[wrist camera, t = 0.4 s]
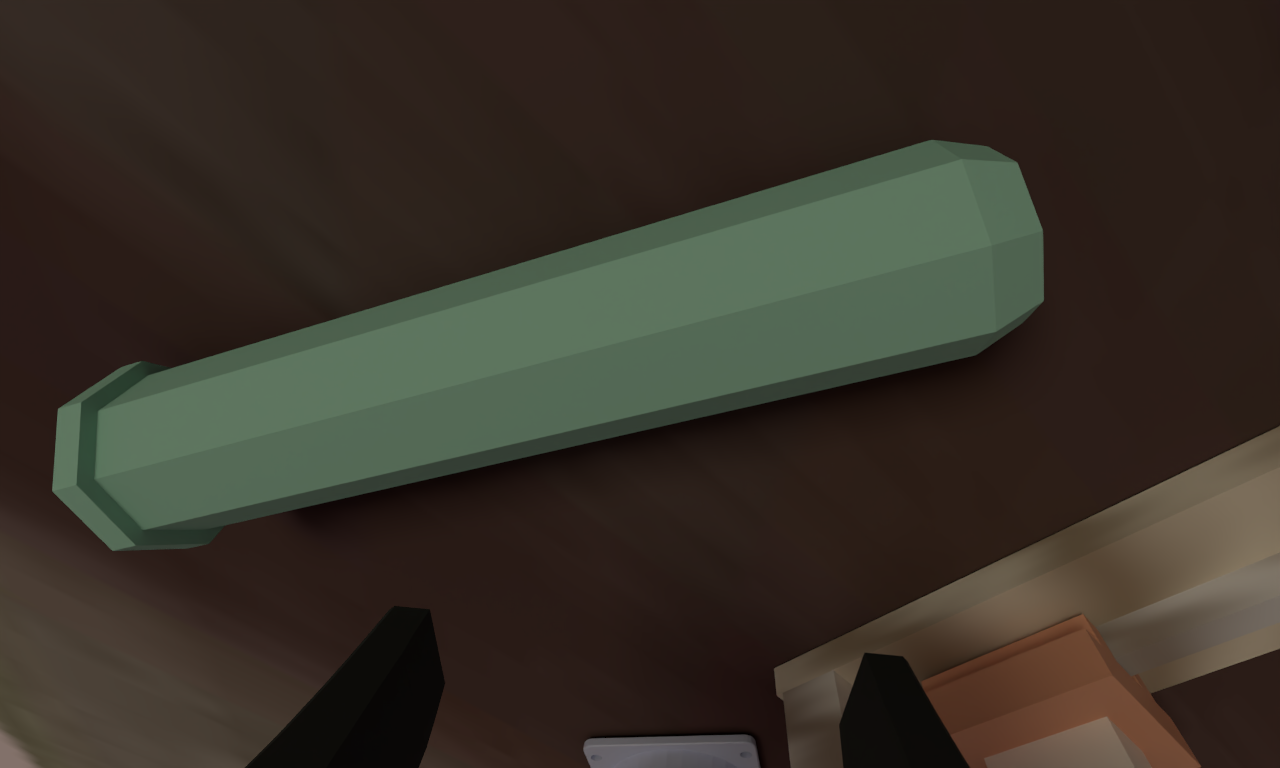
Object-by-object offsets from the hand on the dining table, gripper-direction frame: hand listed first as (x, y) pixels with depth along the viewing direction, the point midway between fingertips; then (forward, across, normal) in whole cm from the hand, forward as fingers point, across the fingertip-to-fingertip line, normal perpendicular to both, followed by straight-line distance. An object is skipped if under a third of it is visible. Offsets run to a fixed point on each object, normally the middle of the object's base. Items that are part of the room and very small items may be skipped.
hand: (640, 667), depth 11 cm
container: (+10, +4, -1) cm, 11 cm away
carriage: (+9, -14, +11) cm, 19 cm away
